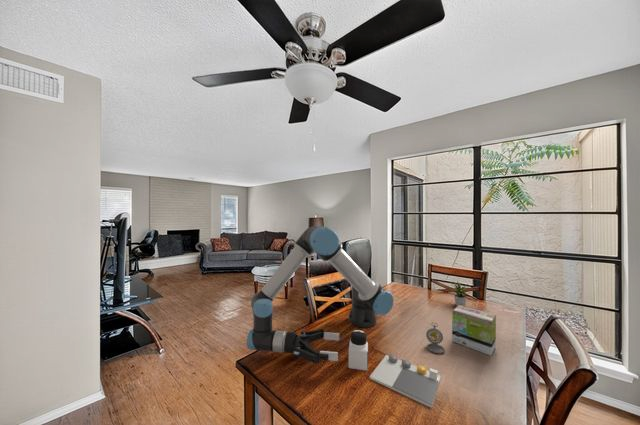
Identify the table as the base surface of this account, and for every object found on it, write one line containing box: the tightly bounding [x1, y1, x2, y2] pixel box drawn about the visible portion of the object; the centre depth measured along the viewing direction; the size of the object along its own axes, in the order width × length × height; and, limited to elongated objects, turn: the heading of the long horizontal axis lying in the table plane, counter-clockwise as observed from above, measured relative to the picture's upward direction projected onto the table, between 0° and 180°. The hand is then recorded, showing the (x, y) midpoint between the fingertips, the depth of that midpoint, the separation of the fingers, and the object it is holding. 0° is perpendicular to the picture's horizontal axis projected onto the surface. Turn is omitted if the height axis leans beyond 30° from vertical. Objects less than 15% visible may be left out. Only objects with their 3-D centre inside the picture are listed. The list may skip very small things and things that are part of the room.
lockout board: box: [369, 354, 442, 409], centre depth 81 cm, size 20×16×3 cm
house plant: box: [449, 279, 473, 307], centre depth 149 cm, size 14×14×16 cm
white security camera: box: [348, 329, 369, 372], centre depth 89 cm, size 7×7×12 cm
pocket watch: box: [425, 322, 445, 355], centre depth 99 cm, size 8×8×10 cm
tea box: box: [451, 305, 497, 357], centre depth 103 cm, size 15×10×15 cm
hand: (338, 345), depth 89 cm, fingers open, 13 cm apart
